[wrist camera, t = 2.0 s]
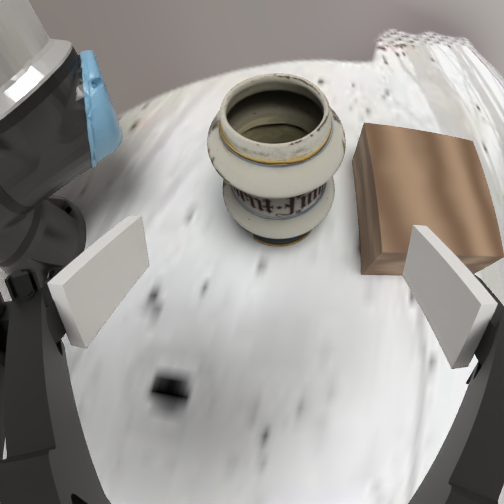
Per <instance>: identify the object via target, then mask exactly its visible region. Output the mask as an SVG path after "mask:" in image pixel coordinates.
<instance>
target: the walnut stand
mask: <svg viewBox="0 0 504 504" xmlns="http://www.w3.org/2000/svg"><path fill="white" fill-rule="evenodd" d="M352 164H353V172H354V181H355V190H356V200H357V210H358V222H359V236H360V253H361V275H403V271H404V267H405V262H406V258H407V253H408V248H409V243H410V238H411V233H412V228H413V225H422V226H427V227H428V228H429V229H430V230H431V231H432V232H433V233H434V234H435V235H436V236H437V237H438V238H439V239H440V240H441V241H442V242H443V243H444V244H445V245H446V246H447V247H448V248H449V249H450V250H451V251H452V252H453V253H454V254H455V255H456V256H457V257H458V258H459V260H460V261H461V262H462V263H463V264H464V265H465V266H466V267H467V268H468V269H469V270H470V272H471V273H473V274H474V273H476V272H478V271H480V270H482V269H484V268H485V267H487V266H489V265H491V264H493V263H494V262H496V261H498V260H500V259H501V258H503V257H504V252H503V247H502V241H501V236H500V232H499V227H498V222H497V218H496V214H495V210H494V206H493V202H492V198H491V195H490V191H489V188H488V185H487V181H486V178H485V175H484V172H483V169H482V166H481V163H480V160H479V157H478V154H477V151H476V149H475V146H474V143H473V141H470V140H466V139H461V138H457V137H452V136H447V135H442V134H437V133H432V132H426V131H420V130H414V129H408V128H402V127H395V126H387V125H379V124H371V123H364V125H363V128H362V131H361V135H360V138H359V141H358V144H357V147H356V151H355V154H354V157H353V160H352Z"/></svg>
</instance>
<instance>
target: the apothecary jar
mask: <svg viewBox="0 0 504 504" xmlns="http://www.w3.org/2000/svg"><path fill="white" fill-rule="evenodd" d="M345 145H346V140H345V133H344V129H343V126H342V124H341V121H340V120H339V118H338V116H337V115H336V113H335V112H334V111H333V110H332V109H331V107H330V106H329V103H328V100H327V98H326V97H325V95H324V94H323V92H322V91H321V90H320V89H319V88H318V87H317V86H316V85H314V84H313V83H311V82H309V81H308V80H306V79H303V78H301V77H298V76H294V75H289V74H278V73H276V74H264V75H259V76H255V77H252V78H249V79H247V80H244V81H242V82H240V83H239V84H237V85H236V86H234V87H233V88H232V89H231V90H230V91H229V92H228V93H227V95H226V96H225V98H224V99H223V101H222V104H221V108H220V111H219V112H218V113H217V115H216V116H215V118H214V119H213V121H212V123H211V126H210V129H209V132H208V138H207V147H208V153H209V157H210V159H211V162H212V164H213V166H214V168H215V169H216V171H217V172H218V173H219V174H220V176H221V177H222V178H223V179H224V181H223V196H224V201H225V204H226V207H227V209H228V211H229V213H230V214H231V216H232V217H233V218H234V220H235V221H236V222H237V223H238V224H239V225H241V226H242V227H243V228H245V229H246V230H248V231H249V232H251V233H253V236H254V239H255V240H257V241H259V242H261V243H263V244H266V245H270V246H286V245H291V244H294V243H297V242H299V241H300V240H302V239H303V238H305V237H306V236H307V235H308V234H309V233H310V232H311V230H312V229H313V228H315V227H316V226H317V225H318V224H319V223H320V222H321V221H322V220H323V219H324V218H325V217H326V215H327V214H328V212H329V210H330V208H331V206H332V203H333V199H334V191H335V189H334V180H333V175H334V174H335V173H336V171H337V170H338V168H339V166H340V165H341V162H342V160H343V157H344V153H345Z"/></svg>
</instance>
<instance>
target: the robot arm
mask: <svg viewBox="0 0 504 504" xmlns="http://www.w3.org/2000/svg"><path fill="white" fill-rule="evenodd" d="M121 141H122V130H121V127H120V124H119V121H118V119H117V116H116V113H115V110H114V108H113V105H112V102H111V99H110V96H109V93H108V91H107V88H106V85H105V82H104V79H103V76H102V74H101V71H100V68H99V65H98V62H97V60H96V57H95V54H94V52H93V51H92V50H87V51H82V52H81V53H80V55H78V54H77V53H76V51H75V49H74V47H73V46H72V44H71V42H69V41H65V40H54V39H50V37H48V35H47V34H46V32H45V30H44V28H43V27H42V25H41V23H40V21H39V19H38V17H37V16H36V14H35V12H34V10H33V8H32V6H31V5H30V3H29V1H28V0H0V267H1V268H2V269H3V270H4V271H5V272H6V274H7V275H8V276H7V278H6V279H5V283H6V285H7V288H8V291H9V293H10V296H11V298H12V301H9V302H4V300H3V298H2V295H1V293H0V504H111V503H110V501H109V500H108V499H107V497H106V495H105V494H104V491H103V489H102V487H101V484H100V482H99V479H98V476H97V474H96V471H95V468H94V465H93V462H92V460H91V457H90V454H89V450H88V447H87V444H86V441H85V438H84V434H83V431H82V427H81V424H80V420H79V416H78V412H77V408H76V404H75V400H74V395H73V391H72V386H71V381H70V376H69V371H68V366H67V360H66V354H65V347H64V344H63V342H62V340H61V338H62V337H63V336H64V335H65V333H66V334H67V336H68V339H69V341H70V343H71V345H73V346H77V347H81V348H87V347H88V346H89V344H90V343H91V341H92V340H93V339H94V337H95V336H96V334H97V333H98V332H99V330H100V329H101V328H102V326H103V325H104V324H105V322H106V321H107V319H108V318H109V317H110V315H111V314H112V313H113V311H114V310H115V309H116V307H117V306H118V305H119V304H120V302H121V301H122V300H123V298H124V297H125V296H126V294H127V293H128V292H129V291H130V289H131V288H132V287H133V285H134V284H135V283H136V282H137V280H138V279H139V278H140V277H141V275H142V274H143V273H144V271H145V270H146V269H147V268H148V267H149V265H150V264H149V259H148V253H147V246H146V240H145V234H144V227H143V220H142V216H128V217H126V218H125V219H124V220H122V221H121V222H120V223H118V224H117V225H116V226H115V227H113V228H112V229H111V230H110V231H108V232H107V233H106V234H104V235H103V236H102V237H101V238H99V239H98V240H97V241H96V242H95V243H93V244H92V245H91V246H90V247H88V248H87V249H86V250H85V251H84V252H83V250H84V246H85V238H86V229H85V223H84V219H83V217H82V214H81V213H80V211H79V210H78V209H77V208H76V207H75V206H74V205H73V204H72V203H70V202H69V201H68V200H66V199H64V198H62V197H59V196H55V195H52V194H53V193H55V192H56V191H57V190H59V189H60V188H62V187H63V186H64V185H66V184H67V183H69V182H70V181H71V180H73V179H74V178H76V177H77V176H79V175H80V174H82V173H83V172H85V171H86V170H88V169H89V168H94V167H95V166H96V164H97V163H98V162H99V161H101V160H102V159H104V158H105V157H107V156H108V155H109V154H111V153H112V152H114V151H115V150H116V149H117V148H118V147H119V146H120V143H121ZM402 276H403V277H404V279H405V281H406V282H407V284H408V286H409V288H410V289H411V291H412V293H413V295H414V296H415V298H416V300H417V302H418V304H419V305H420V307H421V309H422V311H423V313H424V315H425V316H426V318H427V320H428V322H429V324H430V326H431V328H432V330H433V332H434V334H435V336H436V338H437V340H438V342H439V344H440V346H441V348H442V350H443V352H444V354H445V356H446V358H447V360H448V362H449V364H450V367H451V369H455V368H462V367H468V365H469V363H470V362H471V360H472V358H473V356H474V354H475V355H476V357H477V359H478V363H477V365H476V367H475V368H474V370H473V372H472V374H471V375H470V377H469V379H468V380H467V382H466V384H469V385H468V388H467V391H466V393H465V396H464V398H463V401H462V403H461V406H460V408H459V411H458V413H457V415H456V418H455V420H454V422H453V424H452V427H451V429H450V431H449V433H448V435H447V437H446V439H445V441H444V443H443V445H442V447H441V449H440V451H439V453H438V455H437V457H436V459H435V461H434V462H433V464H432V466H431V468H430V469H429V471H428V473H427V475H426V476H425V478H424V480H423V481H422V483H421V485H420V486H419V488H418V490H417V491H416V493H415V494H414V496H413V497H412V499H411V500H410V502H409V503H408V504H498V499H499V495H500V493H501V490H502V487H503V485H504V306H503V305H502V303H501V302H500V301H499V300H498V298H497V297H496V296H495V295H494V294H493V293H492V291H491V290H490V289H489V288H488V287H487V286H486V284H485V283H484V282H483V281H482V280H481V279H480V278H479V277H477V276H476V275H474V274H473V273H471V272H470V270H469V269H468V268H467V267H466V266H465V265H464V264H463V263H462V262H461V261H460V260H459V258H458V257H457V256H456V255H455V254H454V253H453V252H452V251H451V250H450V249H449V248H448V247H447V246H446V245H445V244H444V243H443V242H442V241H441V240H440V239H439V238H438V237H437V236H436V235H435V234H434V233H433V232H432V231H431V230H430V229H429V228H428V227H427V226H422V225H413V228H412V233H411V238H410V243H409V248H408V253H407V258H406V262H405V267H404V271H403V275H402ZM469 382H470V383H469ZM5 437H6V449H7V458H6V459H4V460H2V459H3V450H4V442H5Z"/></svg>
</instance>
